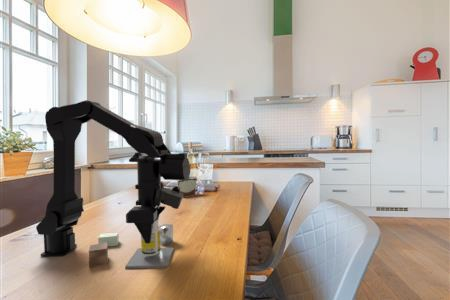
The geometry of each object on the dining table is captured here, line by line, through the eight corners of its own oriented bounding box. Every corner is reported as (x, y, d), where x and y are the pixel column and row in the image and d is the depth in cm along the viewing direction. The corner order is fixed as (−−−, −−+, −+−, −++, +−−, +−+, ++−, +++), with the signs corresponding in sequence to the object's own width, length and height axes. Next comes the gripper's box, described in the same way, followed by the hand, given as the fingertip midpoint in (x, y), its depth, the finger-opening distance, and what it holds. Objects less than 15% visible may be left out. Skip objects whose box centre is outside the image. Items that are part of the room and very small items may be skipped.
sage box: (98, 247, 74) (98, 237, 74) (100, 243, 77) (100, 234, 77) (117, 245, 75) (116, 235, 75) (118, 241, 78) (118, 232, 78)
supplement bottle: (153, 246, 70) (152, 216, 70) (164, 251, 67) (163, 220, 67) (137, 253, 66) (137, 221, 66) (148, 258, 63) (147, 224, 63)
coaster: (125, 268, 62) (125, 266, 61) (137, 250, 71) (137, 248, 71) (167, 267, 62) (167, 265, 62) (173, 249, 72) (173, 247, 72)
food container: (191, 193, 147) (191, 175, 146) (197, 194, 142) (197, 176, 142) (172, 196, 139) (171, 178, 139) (177, 198, 134) (177, 179, 134)
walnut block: (89, 267, 63) (88, 251, 62) (90, 260, 66) (90, 245, 66) (107, 264, 64) (106, 248, 64) (107, 257, 68) (107, 242, 68)
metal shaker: (158, 245, 75) (157, 228, 74) (161, 240, 79) (160, 224, 78) (172, 245, 75) (171, 228, 75) (174, 240, 79) (173, 224, 79)
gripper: (175, 185, 57) (176, 254, 57) (185, 174, 75) (185, 226, 76) (124, 186, 56) (125, 255, 57) (146, 174, 75) (148, 226, 76)
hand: (150, 239), depth 66 cm, fingers closed on supplement bottle, 5 cm apart
